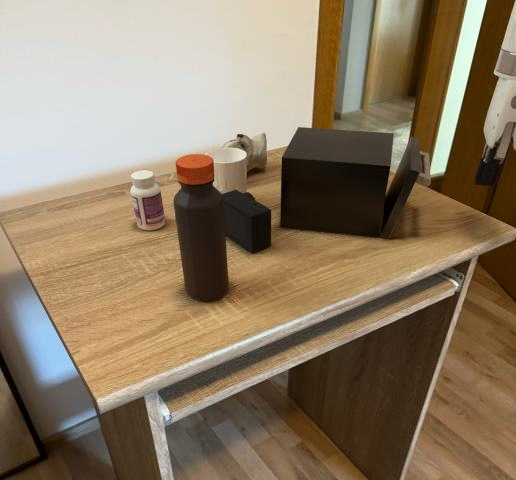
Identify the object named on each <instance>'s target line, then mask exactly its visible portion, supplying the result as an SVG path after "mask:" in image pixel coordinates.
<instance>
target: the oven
mask: <svg viewBox="0 0 516 480" xmlns="http://www.w3.org/2000/svg"><path fill="white" fill-rule="evenodd" d="M394 136H395V133H394V132H381V131H379V132H378V131H364V130H349V129H348V130H347V129H335V128H321V127H320V128H318V127H306V126H305V127H302V126H297V129H296V131H295V133H294V134H293V135H292V138H291V140H290V141H289V143H288V145H287V146H286V149H285V150H284V152H283V154H282V156H281V163H280V164H281V168H280V173H281V174H280V213H279V214H280V216H279V218H280V220H279V228H282V229H291V230H292V229H293V230H301V231H310V232H320V233H331V234H341V235H349V236H350V235H351V236H358V237H359V236H360V237H370V238H379V237H380V233H381V227H382V218H383V209H384V203H385V197H386V194H387V191H388V186H389V185H388V184H389V179H390V173H391V166H392V157H393V149H394V148H393V147H394Z"/></svg>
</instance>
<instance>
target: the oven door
mask: <svg viewBox="0 0 516 480" xmlns="http://www.w3.org/2000/svg"><path fill="white" fill-rule="evenodd" d="M420 147H421V146H420V138H418V137H415V136H410V138H409V140H408V143H407V145H406V147H405V149H404V152H403V155H402V156H401V159H400V161H399V164H398V165H397V169H396V171H395V174H394V176H393V178H392V180H391V182H390V184H389V187H388V188H387V191H386V197H385V203H384V209H383V214H382V220H381V226H380V237H381V238H384V239H388V240H389V239H390V237H391V235H392V233H393V231H394V229H395V227H396V224H397V222H398V220H399V218H400V216H401V215H402V212H403V210H404V208H405V206H406V204H407V202H408V199H409V196H410V195H411V193H412V191H413V189H414V186H415V185H416V184H417V185H421V186H423V187H429V186H431V183H432V179H431V177H432V176H431V162H430V161H431V160H430V153H429V152H424V151H422V150H420V149H421V148H420Z"/></svg>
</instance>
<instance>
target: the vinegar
mask: <svg viewBox="0 0 516 480" xmlns="http://www.w3.org/2000/svg"><path fill="white" fill-rule="evenodd" d="M175 170H176V178H177V181H178V184H179V185H180V188H179V190H178V191H177V193H175V195H174V197H173V210H174V218H175V224H176V232H177V239H178V247H179V254H180V260H181V261H180V262H181V267H182V275H183V282H184V291H185V292H186V294H187V296H189V297H190V298H192V299H194V300H197V301H202V302H207V301H208V302H209V301H214V300H218V299H220V298H222V297H223V296H224V295H226V294H227V293H228V290H229V288H230V284H229V267H228V265H229V264H228V252H227V236H226V234H225V218H224V203H223V195H222V194H221V193H220V191H219V190H218V189H216V188H215V187H214V186H213V182H214V181H215V179H214V177H215V174H214V160H213V159H212V157H210V156H208V155H205V154H203V153H192V154H185V155H182V156H180V157H178V158H177V159H176V160H175Z"/></svg>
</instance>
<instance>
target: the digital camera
mask: <svg viewBox="0 0 516 480" xmlns="http://www.w3.org/2000/svg"><path fill="white" fill-rule="evenodd" d="M222 195H223V203H224V218H225V234H226V238H228V239H230V240H231V241H233V242H234V243H235V244H238V245H239V246H240V247H242V248H243V249H244V250H246V251H247V252H249V253H251V254H255V253H257V252H260V251H262V250H265V249H267V248H270V247H271V246H272V209H271V208H270V207H268V206H266V205H264V204H262V203H260V202H259V201H257V200H256V198H255V197H254V195H253V194H252V193H251V192H249V191H246V193H241V192H239V191H238V190H233V191H230V192H227V193H223V194H222Z"/></svg>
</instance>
